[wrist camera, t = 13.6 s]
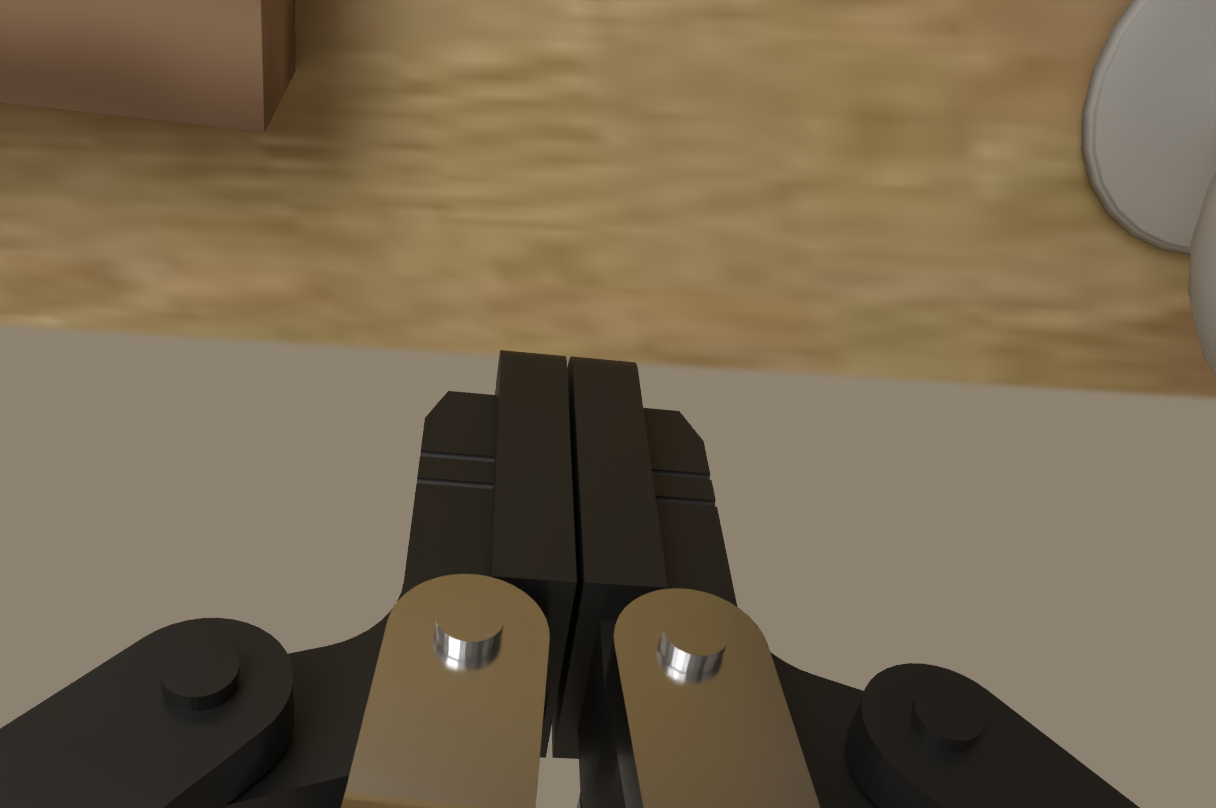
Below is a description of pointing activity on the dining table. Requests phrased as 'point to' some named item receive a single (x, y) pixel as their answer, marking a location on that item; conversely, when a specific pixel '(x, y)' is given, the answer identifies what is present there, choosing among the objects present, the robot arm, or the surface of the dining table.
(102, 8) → the wooden grain block
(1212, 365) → the chalice
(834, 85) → the dining table surface
